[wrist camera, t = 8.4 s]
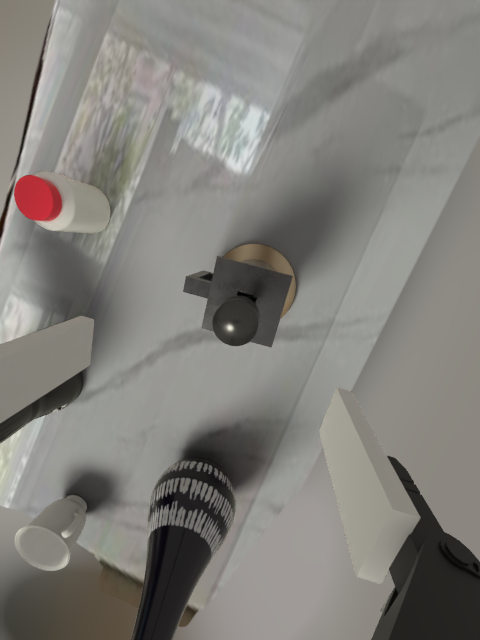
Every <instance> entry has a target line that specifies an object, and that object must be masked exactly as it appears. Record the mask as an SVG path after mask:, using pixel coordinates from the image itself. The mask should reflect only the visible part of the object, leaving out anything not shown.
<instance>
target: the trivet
mask: <svg viewBox="0 0 480 640" xmlns="http://www.w3.org/2000/svg"><path fill="white" fill-rule="evenodd" d="M223 258H227V259H231V260H235V261H238V262H242V261H245V260H250V259H256V260H261V261H264V262H266V263H268V264H269V265H271V266H272V267H273V268H274V269H275V271H276V272H280V273H284V274H288V275H291V276H293V278H292V281H291V285H290V288H289V291H288V294H287V298H286V301H285V304H284V308H283V311H282V314H281V317H280V318H282V317H283V316H284V315H285V314H286V312H287V311H288V310H289V308H290V306H291V304H292V302H293V300H294V296H295V290H296V282H295V276H294V273H293V270H292V268H291V266H290V264H289V263H288V261H287V260H286V259H285V257H284V256H282V255H281V254H280V253H279V252H278V251H276V250H275V249H273V248H271V247H268V246H265V245H260V244H247V245H242V246H239V247H237V248H235V249H233V250H231V251H230V252H228V253H227V254H226V255H225V256H224V257H223Z"/></svg>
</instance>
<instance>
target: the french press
mask: <svg viewBox="0 0 480 640" xmlns="http://www.w3.org/2000/svg"><path fill="white" fill-rule="evenodd" d="M292 278H293V276H291V275H288V274H284V273H280V272H276V271H275V269H274V268H273V267H272V266H271V265H269V264H268V263H266V262H264V261H261V260H256V259H250V260H245V261H242V262H238V261H235V260H231V259H227V258H223V257H219V256H217V260H216V264H215V269H214V273H211V272H207V271H201V272H198V273H195V274H192V275H189V276H186V280H185V285H184V290H183V292H186V293H190V294H193V295H197V296H201V297H204V298H208V301H207V305H206V310H205V315H204V319H203V324H202V328H203V329H207V330H210V331H214V330H213V326H212V320H213V316H214V314H215V312H216V310H217V309H218V308H219V307H220V306H221V305H222V304H223V302H224V301H225V300H227V299H228V298H230V297H233V296H237V294H238V291H239V292H243V293H247V294H250V295H254V296H257V300H256V306H257V307H258V310H259V315H260V317H259V324H258V329H257V332H256V334H255V336H254V338H253V339H252V340H251V341H250V342H253V343H257V344H261V345H264V346H268V347H272V344H273V340H274V337H275V334H276V331H277V327H278V324H279V321H280V317H281V314H282V311H283V308H284V304H285V301H286V298H287V294H288V291H289V288H290V285H291V281H292Z"/></svg>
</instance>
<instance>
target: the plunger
mask: <svg viewBox="0 0 480 640" xmlns="http://www.w3.org/2000/svg"><path fill="white" fill-rule="evenodd" d="M256 300H257V296H254V295H250V294H247V293H243V292H239V291H238V294H237V296H233V297H230V298H228V299H227V300H225V301H224V302H223V304H222V305H221V306H220V307H219V308H218V309H217V310H216V312H215V314H214V316H213V320H212V326H213V330H214V333H215V334H216V336H217V337H218V338H219V339H220V340H221V341H222V342H224V343H225V344H228V345H231V346H241V345H244V344H246V343H248V342H250V341H251V340H252V339H253V338H254V336H255V334H256V332H257V329H258V324H259V317H260V315H259V310H258V307H257V306H256Z"/></svg>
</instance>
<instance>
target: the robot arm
mask: <svg viewBox="0 0 480 640" xmlns="http://www.w3.org/2000/svg"><path fill="white" fill-rule="evenodd" d="M94 320H95V319H91V318H87V317H84V316H79V317H76V318H73V319H70V320H68V321H65V322H62V323H59V324H56V325H54V326H51V327H48V328H45V329H42V330H40V331H37V332H34V333H31V334H28V335H26V336H23V337H20V338H17V339H14V340H12V341H9V342H6V343H3V344H0V443H2V442H3V441H4V440H6V439H7V438H9V437H10V436H11V435H13V434H14V433H15V432H17V431H18V430H20V429H21V428H22V427H24V426H25V425H26V424H28V423H29V422H30V421H32V420H33V419H36V418H39V417H42V416H44V415H47V414H50V413H52V412H56V411H59V410H61V409H63V408H65V407H66V406H68V405H69V404H70V403H72V402H73V401H74V400H75V399H76V398H77V397H78V395H79V394H80V392H81V389H82V374H81V371H82V370H84V369H85V368H87V367H88V366H90V362H91V351H92V341H93V330H94ZM319 433H320V437H321V441H322V445H323V449H324V453H325V456H326V460H327V464H328V468H329V472H330V476H331V480H332V484H333V488H334V492H335V496H336V500H337V504H338V508H339V512H340V516H341V519H342V523H343V527H344V531H345V535H346V539H347V543H348V547H349V551H350V555H351V558H352V562H353V567H354V571H355V574H356V576H357V577H359V578H363V579H366V580H369V581H372V582H375V583H379V584H382V582H383V580H384V578H385V577H386V575H387V574H388V571H390V573H391V576H392V579H393V582H394V584H395V588H394V590H393V591H392V593H391V594H390V596H389V598H388V599H387V601H386V602H385V604H384V606H383V607H382V609H381V612H382V616H381V618H380V620H379V623H378V625H377V628H376V630H375V632H374V635H373V637H372V639H371V640H480V562H479V560H478V559H477V558H476V557H475V556H474V555H473V554H472V552H471V551H470V550H469V549H468V548H467V547H466V546H465V545H463V544H462V543H461V542H460V541H459V540H457V539H456V538H454V537H452V536H451V535H449V534H447V533H445V532H444V531H443V529H442V528H441V526H440V525H439V523H438V521H437V520H436V518H435V516H434V515H433V513H432V511H431V510H430V508H429V506H428V505H427V503H426V501H425V500H424V498H423V496H422V495H420V491H419V490H418V488H417V487H416V485H414V481H413V480H412V479H411V476H410V475H409V473H408V471H407V470H406V469H405V468H404V467H403V466H402V465H401V464H400V463H399V462H398V461H397V459H395V458H393V457H390V456H387V455H386V454H385V452H384V450H383V448H382V446H381V445H380V443H379V441H378V439H377V437H376V436H375V434H374V432H373V430H372V428H371V426H370V425H369V423H368V421H367V419H366V417H365V415H364V414H363V412H362V410H361V408H360V406H359V404H358V403H357V401H356V399H355V397H354V396H353V394H352V392H351V391H348V390H344V389H341V388H336V390H335V393H334V395H333V398H332V400H331V403H330V405H329V408H328V410H327V413H326V415H325V418H324V420H323V423H322V425H321V428H320V430H319Z"/></svg>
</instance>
